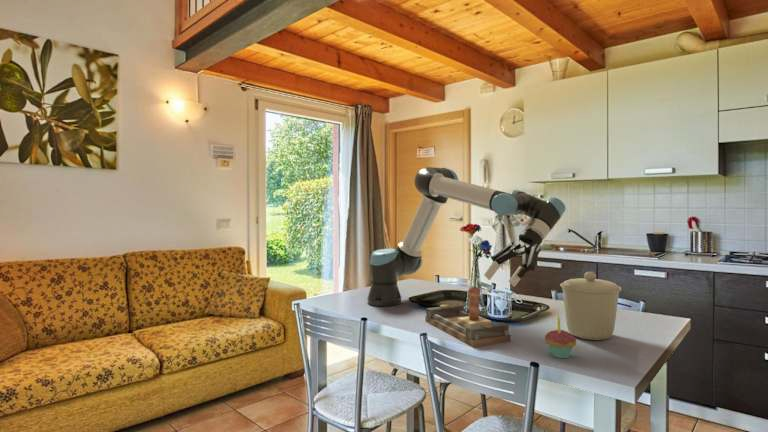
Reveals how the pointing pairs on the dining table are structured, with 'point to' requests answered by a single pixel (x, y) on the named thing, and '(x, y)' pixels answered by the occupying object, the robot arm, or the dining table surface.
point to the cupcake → (560, 342)
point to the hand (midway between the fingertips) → (498, 280)
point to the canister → (590, 306)
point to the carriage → (472, 310)
